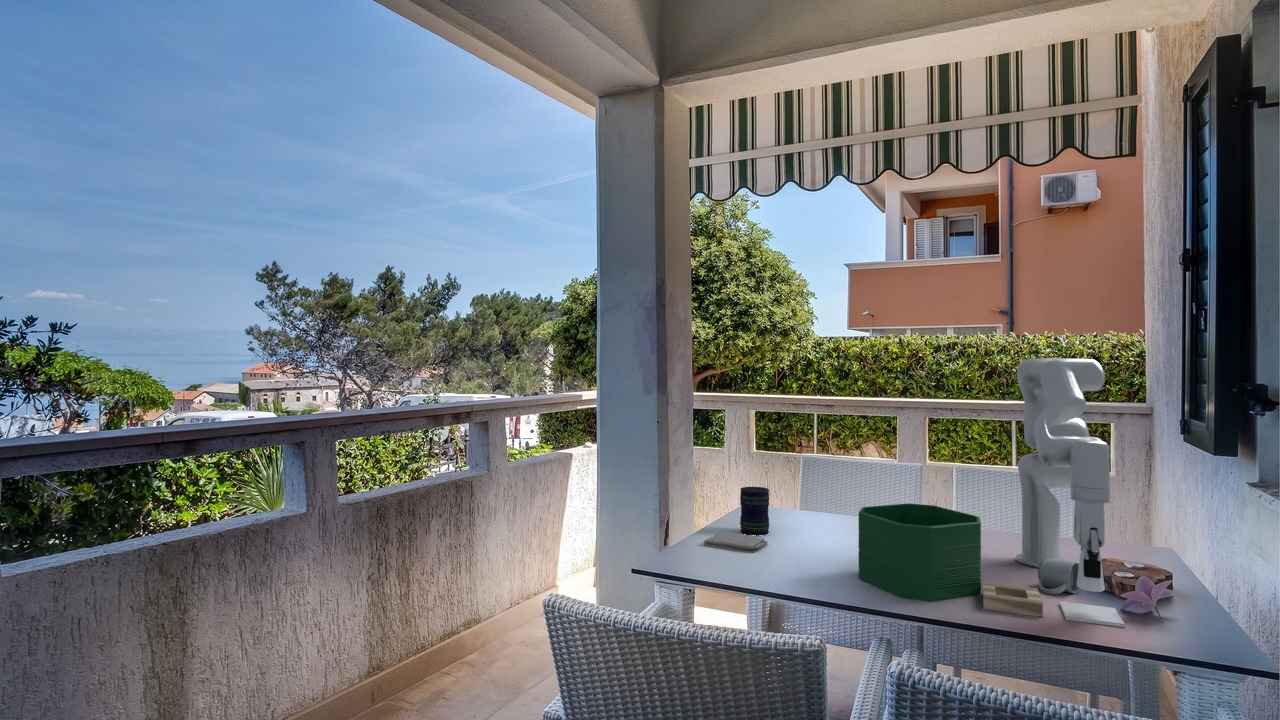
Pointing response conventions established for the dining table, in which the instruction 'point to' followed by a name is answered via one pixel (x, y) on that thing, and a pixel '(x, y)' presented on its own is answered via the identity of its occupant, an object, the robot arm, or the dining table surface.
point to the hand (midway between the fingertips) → (1090, 573)
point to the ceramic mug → (1058, 576)
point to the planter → (920, 551)
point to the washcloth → (736, 542)
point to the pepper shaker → (1088, 582)
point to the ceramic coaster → (1091, 614)
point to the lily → (1147, 594)
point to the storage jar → (754, 511)
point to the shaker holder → (1012, 599)
